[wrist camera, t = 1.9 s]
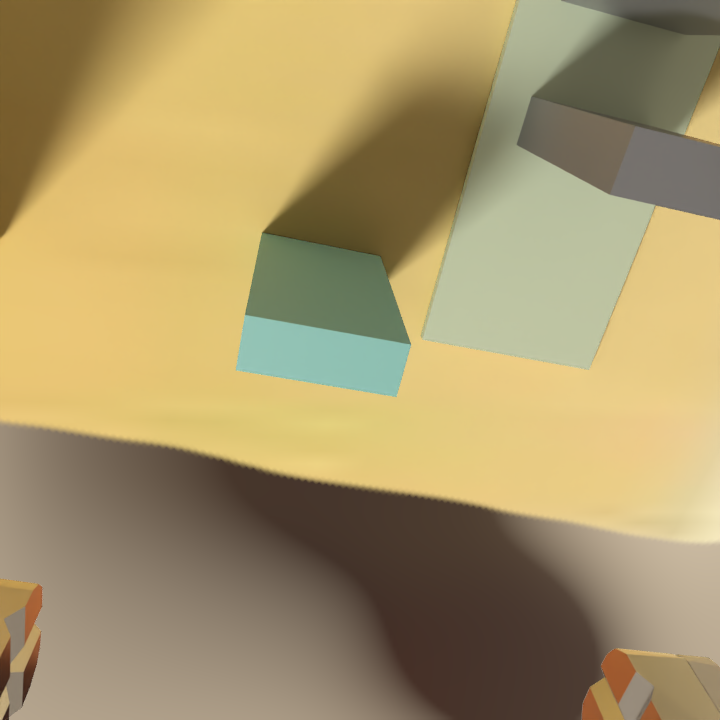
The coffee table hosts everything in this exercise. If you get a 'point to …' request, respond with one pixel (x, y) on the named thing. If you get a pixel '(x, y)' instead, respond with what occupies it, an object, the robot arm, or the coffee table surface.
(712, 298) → the coffee table surface
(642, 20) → the domino
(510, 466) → the coffee table surface
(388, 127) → the coffee table surface
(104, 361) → the coffee table surface
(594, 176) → the domino
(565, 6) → the runner mat
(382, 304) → the domino
